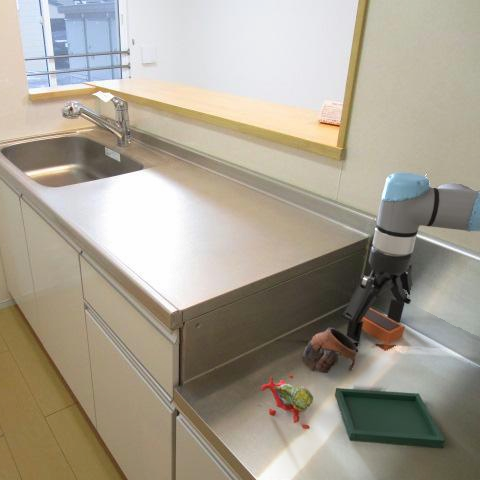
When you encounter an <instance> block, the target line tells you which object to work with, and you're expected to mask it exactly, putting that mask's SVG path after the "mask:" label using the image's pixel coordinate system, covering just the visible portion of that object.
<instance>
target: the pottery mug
mask: <svg viewBox="0 0 480 480" xmlns="http://www.w3.org/2000/svg"><path fill="white" fill-rule="evenodd" d="M354 343H355V342H353V341H352V339H351V338H350V337H348V336H347V335H345V334H344V333H343V332H342V331H340V330H339V329H336V328H334V327H327V329H326V330H323V331H321V332H317V333H316V334H315V335H314V336H312V339H310V340H309V342H308V344H307V346H306V347H305V348H304V352H303V353H302V361H303V362H304V364H305V365H306V367H307V368H308V369H309V370H310V371H313V370H314V369H315V368H316V370H317V371H318V372H319V373H321V374H322V373H323V374H328V373H329V372H330V371H331V369H332V367H334V366H335V365H336V364H337V363H338V360H339V357H342V358H344V359H347V360H350V361H351V364H350V365H349V367H348V369H349V370H350V371H352V370H353V369H354V366H355V365H356V359H357V358H356V355H358V353H359V349H358V347H356V346H355V344H354ZM320 351H321V352H320Z"/></svg>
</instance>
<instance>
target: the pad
mask: <svg viewBox="0 0 480 480" xmlns="http://www.w3.org/2000/svg"><path fill="white" fill-rule="evenodd" d="M361 321H363V326H362V330H363V331H364V332H366V333H368V334H369V335H370V336H372V337H374V338H375V339H377V340H379V341H381V342H383V343H374V345H375V346H377V347H378V346H379V347H378V348H380V349H382V350H383V349H384V351H385V352H387V351H389V350H391V349H393V348H395V347H396V345H397V344H392V343H393V342H396V341H397V340H399V339H401V338H403V336H404V332H405V329H406V328H405V326H404V325H402V324H401V323H400V322H399V323H397V322H395V321H394V320H392V319H390V318H388V317H387V316H386V315H384V314H383V313H381V312H379V311H377V310H375V309H373V308H372V307H370V308H369V310H368V311H367V312H366V314H365V315H364V317H363V318H362V320H361ZM394 346H395V347H394ZM392 347H393V348H392ZM390 348H391V349H390ZM388 349H389V350H388ZM386 350H387V351H386Z"/></svg>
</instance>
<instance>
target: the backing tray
mask: <svg viewBox="0 0 480 480" xmlns="http://www.w3.org/2000/svg"><path fill="white" fill-rule="evenodd" d="M334 397H335V401H336V404H337V406H338V409H339V412H341V413H340V415H342V416H341V418H342V421H343V425H344V427H345V431H346V434H347V437H348V440H349V441H350V442H361V443H362V442H363V443H374V444H375V443H376V444H385V445H387V444H388V445H398V446H399V445H400V446H412V447H422V448H423V447H425V448H434V449H435V448H437V449H443V448H444V446H445V443H446V439H445V438H444V435H443V434H442V433H441V431H440V429H439V427H438V425H437V423H436V421H435V420H434V418H433V416H432V414H431V413H430V410H429V408H428V407H427V406H426V404H425V401H424V400H423V398H422V397H421V395H420V393H417V392H403V391H402V392H401V391H387V390H373V389H371V390H370V389H360V388H359V389H357V388H343V387H335V391H334Z"/></svg>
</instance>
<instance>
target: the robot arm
mask: <svg viewBox="0 0 480 480" xmlns="http://www.w3.org/2000/svg"><path fill="white" fill-rule="evenodd" d="M425 176H426V175H422V174H418V173H413V172H395V173H391V174H390V175H389V176H387V178H386V180H385V183H384V186H383V191H382V194H381V195H380V197H381V198H380V203H379V208H378V214H377V219H376V224H375V228H374V235H373V239H372V246H371V247H370V253H369V258H368V264H369V265H370V267H371V269H372V270H371V272H370V274H369V275H368V276H366V275H365V274H361V275H360V277H359V279H358V282H357V286H356V288H355V289H354V292H353V293H352V295H351V297H350V299H349V301H348V303H347V305H346V307H345V309H344V311H343V312H342V315H341V316H342V318H344V319H345V320H347V321H348V323H347V328H346V337H348V338H349V339H350V340H353V341H355V342H353V343H354V344H355V346H356V347H357V348H358V347H359V344H360V341H361V340H360V339H361V334H362V330H363V329H362V326H363V321H361V320H362V318H363V317H364V315H365V314H366V312H367V311H368V310H369V308H372V305H373V304H374V303H375V301H376V299H377V298H380V297H381V296H382V295H383V293H385V292H386V291H388V290H390V292H391V294H392V295H393V297H394V298H391V299H390V304H389V308H388V311H387V316H386V317H388V318H390V319H392V320H394V321H395V322H397V323H399V324H400V323H401V319H402V315H403V311H404V308H405V304H407V305H410V304H411V302H412V299H411V298H409V297H408V298H407V294H405V292H404V290H403V289H405V290H407V292H408V294H409V295H410V290H411V286H413V278H412V270H413V264H411V260H412V256H413V255H412V253H413V252H414V250H415V249H414V247H415V244H416V240H417V235H418V232H419V228H420V226H423V227H431V228H441V229H448V230H449V229H450V230H458V231H467V232H469V233H470V232H480V190H479V191H474V190H472V189H470V188H469V187H467V186H464V185H462V184H456V183H455V184H454V183H453V184H452V183H449V184H444V185H441V186H439V187H438V188H433V187H430V185H429V184H430V181H429V179H428V178H427V177H425Z"/></svg>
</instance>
